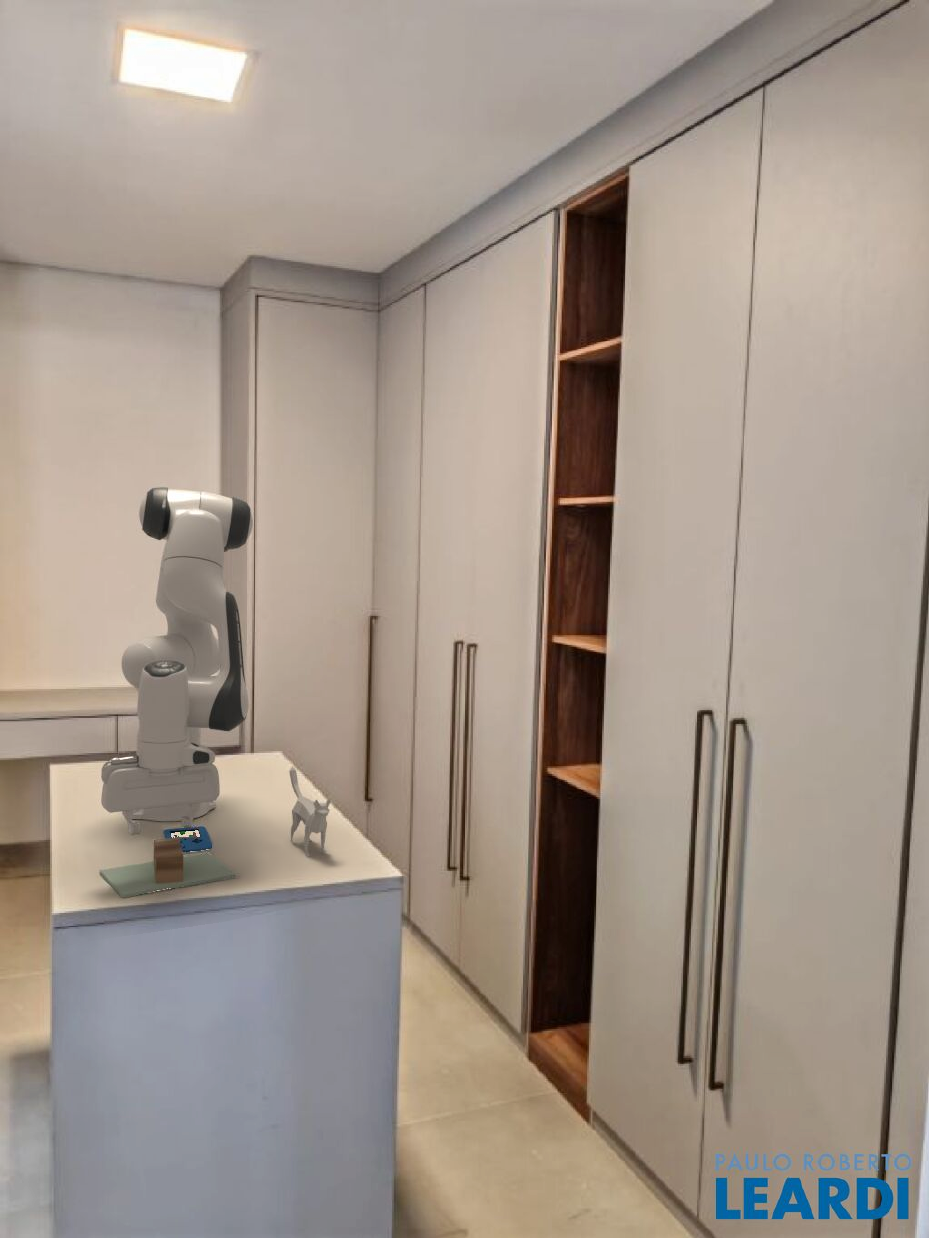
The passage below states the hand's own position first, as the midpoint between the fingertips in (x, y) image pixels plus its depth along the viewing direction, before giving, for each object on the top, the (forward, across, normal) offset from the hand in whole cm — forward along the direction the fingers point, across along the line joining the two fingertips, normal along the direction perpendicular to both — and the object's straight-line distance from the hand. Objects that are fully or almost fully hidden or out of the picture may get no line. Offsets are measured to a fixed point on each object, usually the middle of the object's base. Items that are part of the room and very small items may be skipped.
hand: (160, 830), depth 180 cm
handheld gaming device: (+9, +11, +17) cm, 22 cm away
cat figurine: (+8, +30, +3) cm, 31 cm away
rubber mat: (+8, +1, -1) cm, 8 cm away
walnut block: (+8, +1, -1) cm, 8 cm away
